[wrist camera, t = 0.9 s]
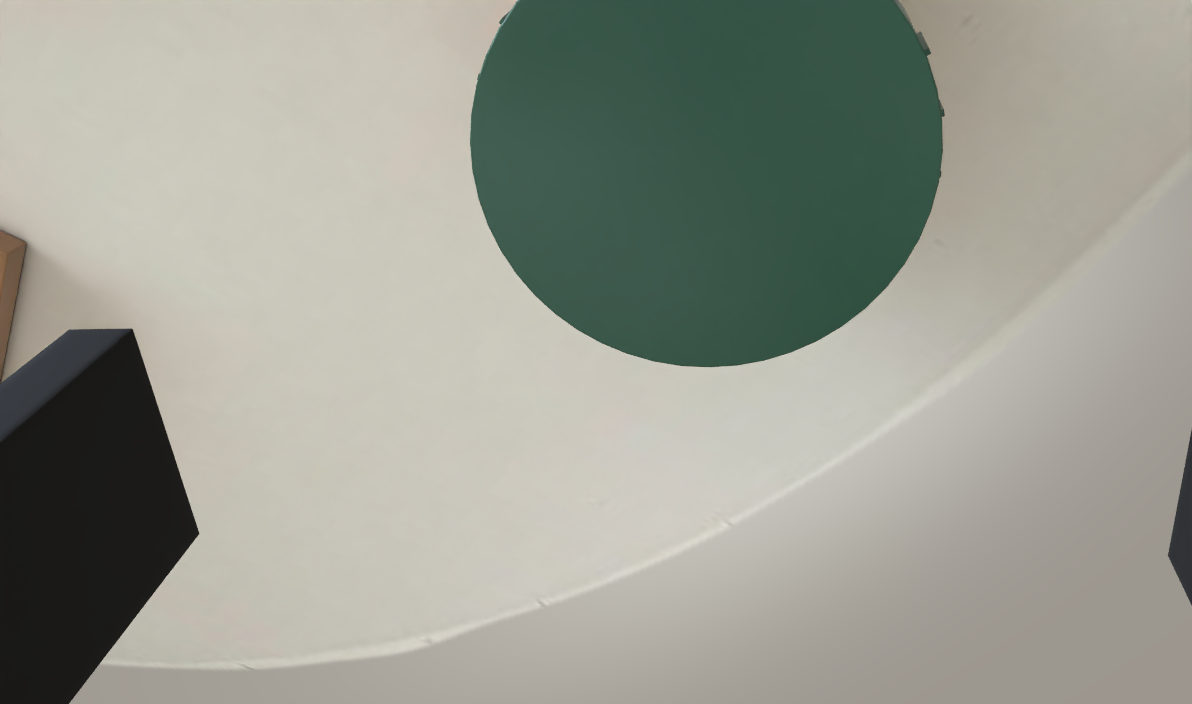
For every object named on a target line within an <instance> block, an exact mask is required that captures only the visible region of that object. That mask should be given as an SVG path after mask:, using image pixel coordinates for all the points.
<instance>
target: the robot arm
mask: <svg viewBox="0 0 1192 704" xmlns="http://www.w3.org/2000/svg"><path fill="white" fill-rule="evenodd" d="M198 535H199V531H198V528H197V525H196V522H195V519H194V516H193V513H192V510H191V507H190V504H189V500H188V497H187V494H186V491H185V488H184V485H183V482H182V479H181V476H180V473H179V470H178V467H177V464H176V461H175V457H174V454H173V451H172V448H171V445H170V442H169V439H168V436H167V433H166V430H165V427H164V424H163V421H162V418H161V414H160V411H159V408H158V405H157V402H156V399H155V396H154V393H153V390H152V387H151V384H150V381H149V378H148V375H147V371H146V368H145V365H144V362H143V359H142V356H141V353H140V350H139V347H138V344H137V341H136V338H135V335H134V332H133V329H80V330H68V331H67V332H66V333H64V334H63V335H62V336H61V337H59V338H58V339H57V340H55V341H54V342H53V343H52V344H50V345H49V346H48V347H47V348H45V349H44V350H43V351H41V352H40V353H39V354H38V355H36V356H35V357H34V358H33V359H31V360H30V361H29V362H27V363H26V364H25V365H24V366H22V367H21V368H20V369H19V370H17V371H16V372H15V373H13V374H12V375H11V376H10V377H8V378H7V379H6V380H5V381H3V382H2V383H1V384H0V704H69V703H70V702H71V700H72V699H73V698H74V696H75V695H76V694H77V692H78V691H79V690H80V689H81V687H82V686H83V685H84V683H85V682H86V680H87V679H88V678H89V677H90V675H91V674H92V673H93V672H94V670H95V669H96V668H97V666H98V665H99V664H100V662H101V661H102V660H103V659H104V657H105V656H106V655H107V653H108V652H109V651H110V649H111V648H112V647H113V645H114V644H115V643H116V642H117V640H118V639H119V638H120V636H121V635H122V634H123V632H124V631H125V630H126V629H127V627H128V626H129V625H130V623H131V622H132V621H133V619H134V618H135V617H136V616H137V614H138V613H139V612H140V610H141V609H142V608H143V606H144V605H145V604H146V602H147V601H148V600H149V599H150V597H151V596H152V595H153V593H154V592H155V591H156V589H157V588H158V587H159V586H160V584H161V583H162V582H163V580H164V579H165V578H166V576H167V575H168V574H169V572H170V571H171V570H172V569H173V567H174V566H175V565H176V563H177V562H178V561H179V559H180V558H181V557H182V556H183V554H184V553H185V552H186V550H187V549H188V548H189V546H190V545H191V544H192V543H193V541H194V540H195V539H196V537H197V536H198ZM1168 557H1169V558H1170V561H1171V563H1172V565H1173V567H1174V569H1175V571H1176V573H1177V575H1178V577H1179V580H1180V582H1181V583H1182V586H1183V588H1184V590H1185V592H1186V594H1187V596H1188V598H1189V600H1190V603H1191V605H1192V431H1191V437H1190V442H1189V448H1188V452H1187V458H1186V464H1185V468H1184V474H1183V479H1182V484H1181V490H1180V495H1179V500H1178V506H1177V511H1176V516H1175V522H1174V527H1173V533H1172V538H1171V543H1170V548H1169V553H1168Z"/></svg>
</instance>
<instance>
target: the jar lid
mask: <svg viewBox="0 0 1192 704" xmlns="http://www.w3.org/2000/svg"><path fill="white" fill-rule="evenodd" d="M499 23H500V24H501V26H500V27H499V29H498V31H497V34H496V36H495V38H494V40H493V42H492V44H491V46H490V48H489V50H488V52H487V54H486V57H485V60H484V63H483V66H482V69H481V72H480V74H479V75H478V79H477V80H478V82H477V85H476V91H475V96H474V102H473V108H472V113H471V135H470V146H471V158H472V169H473V175H474V179H475V184H476V189H477V193H478V198H479V201H480V204H481V207H482V209H483V212H484V215H485V218H486V221H487V223H488V226H489V228H490V230H491V232H492V234H493V236H494V238H495V240H496V242H497V244H498V246H499V248H500V250H501V251H502V253H503V254H504V256H505V257H506V259H507V260H508V262H509V263H510V265H511V266H512V268H513V269H514V271H515V272H516V274H517V275H518V276H519V277H520V278H521V280H522V281H523V282H524V283H525V284H526V285H527V287H528V288H529V289H530V290H531V291H532V292H533V294H534V295H535V296H536V297H537V298H539V299H540V300H541V301H542V302H543V303H544V304H545V305H546V306H547V307H548V308H550V309H551V310H552V311H553V312H554V313H555V314H556V315H558V316H559V317H561V318H562V319H563V320H565V321H566V322H568V323H569V324H570V325H572V326H573V327H574V328H576V329H577V330H579V331H581V332H583V333H584V334H586V335H588V336H590V337H592V338H593V339H595V340H597V341H599V342H601V343H603V344H605V345H607V346H610V347H612V348H615V349H617V350H620V351H622V352H624V353H627V354H630V355H634V356H637V357H641V358H644V359H648V360H651V361H655V362H661V363H667V364H674V365H680V366H696V367H719V366H735V365H742V364H747V363H753V362H758V361H764V360H767V359H771V358H774V357H777V356H780V355H784V354H787V353H790V352H793V351H795V350H798V349H800V348H802V347H804V346H807V345H809V344H811V343H813V342H816V341H818V340H820V339H821V338H823V337H825V336H826V335H828V334H830V333H831V332H833V331H835V330H837V329H838V328H840V327H842V326H843V325H844V324H846V323H847V322H848V321H850V320H851V319H852V318H853V317H855V316H856V315H857V314H859V313H860V312H861V311H863V310H864V309H865V308H866V307H867V306H868V305H869V304H870V303H871V302H872V301H873V300H874V299H875V298H876V297H877V296H878V295H879V294H880V293H881V292H882V291H883V290H884V289H885V288H886V287H887V286H888V285H889V283H890V282H891V281H892V280H893V278H894V277H895V276H896V274H897V273H898V272H899V271H900V269H901V268H902V267H903V265H904V264H905V262H906V261H907V259H908V257H909V256H910V254H911V252H912V250H913V249H914V247H915V245H916V244H917V242H918V240H919V238H920V236H921V234H922V231H923V229H924V227H925V224H926V222H927V219H928V217H929V215H930V212H931V209H932V205H933V202H934V198H935V194H936V191H937V187H938V183H939V178H940V177H941V170H940V169H941V161H942V153H943V142H942V117H943V116H945V115H944V109H943V107H942V105H941V102H940V100H939V97H938V91H937V87H936V84H935V80H934V77H933V74H932V71H931V67H930V64H929V61H928V58H927V55H930V54H931V52H930V50H929V47H928V45H927V43H926V41H925V39H924V37H923V35H922V33H921V32H919V33H917V34H916V32H915V30H914V28H913V26H912V24H911V22H910V20H909V18H908V15H907V13H906V11H905V9H904V8H903V6H902V5H901V3H900V1H899V0H518V1H517V2H516V3H515V5H514V6H513V8H512V9H511V11H509V12H508V13H507V14H506V15H505V16H504V17H503V18H502V19H501V20H500V22H499Z"/></svg>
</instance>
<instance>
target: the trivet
mask: <svg viewBox="0 0 1192 704" xmlns="http://www.w3.org/2000/svg"><path fill="white" fill-rule="evenodd" d="M25 247H26V243H25V242H24V241H21V240H19V239H17V238H15V237H13V236H11V235H9V234H7V233H4V232H2V231H0V380H1V375H2V370H3V364H4V359H5V354H6V348H7V343H8V338H9V333H10V327H11V322H12V317H13V311H14V306H15V301H16V295H17V290H18V285H19V279H20V274H21V269H22V263H23V258H24V253H25Z"/></svg>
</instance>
